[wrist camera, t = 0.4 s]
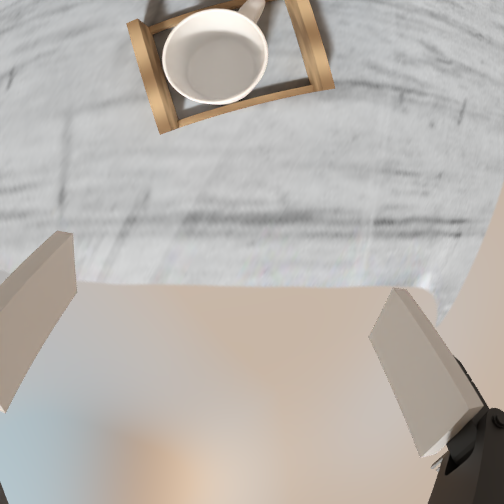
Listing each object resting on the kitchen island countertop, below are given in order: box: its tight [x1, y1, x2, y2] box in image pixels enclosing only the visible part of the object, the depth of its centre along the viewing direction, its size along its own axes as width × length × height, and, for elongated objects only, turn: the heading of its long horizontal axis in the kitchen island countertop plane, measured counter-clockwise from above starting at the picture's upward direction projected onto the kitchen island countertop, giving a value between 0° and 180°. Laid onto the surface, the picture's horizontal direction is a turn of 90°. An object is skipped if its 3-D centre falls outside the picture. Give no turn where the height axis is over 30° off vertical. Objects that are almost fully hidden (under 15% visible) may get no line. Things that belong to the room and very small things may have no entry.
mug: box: [162, 0, 268, 105], centre depth 25 cm, size 12×8×10 cm
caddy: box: [126, 0, 335, 135], centre depth 27 cm, size 13×17×5 cm
